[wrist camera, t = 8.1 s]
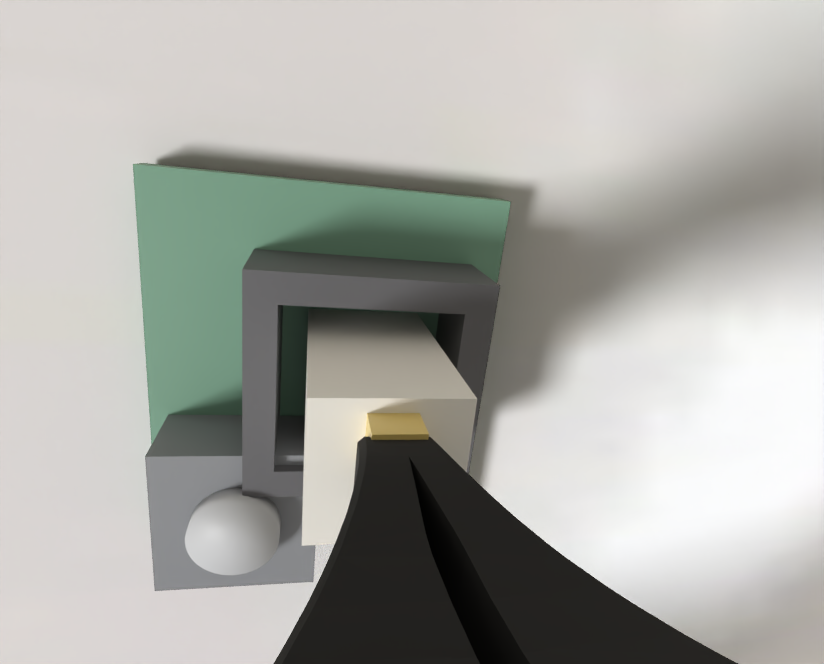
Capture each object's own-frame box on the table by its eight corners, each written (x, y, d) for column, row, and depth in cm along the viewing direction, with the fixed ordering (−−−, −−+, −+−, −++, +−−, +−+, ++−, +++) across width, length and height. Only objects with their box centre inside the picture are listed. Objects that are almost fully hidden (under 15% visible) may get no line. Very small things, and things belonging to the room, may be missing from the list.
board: (449, 523, 19) (477, 601, 16) (165, 534, 17) (129, 626, 14) (501, 199, 15) (553, 213, 12) (143, 163, 13) (86, 168, 10)
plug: (407, 408, 16) (468, 565, 10) (304, 409, 16) (300, 576, 9) (416, 312, 15) (491, 418, 9) (308, 308, 15) (306, 419, 8)
